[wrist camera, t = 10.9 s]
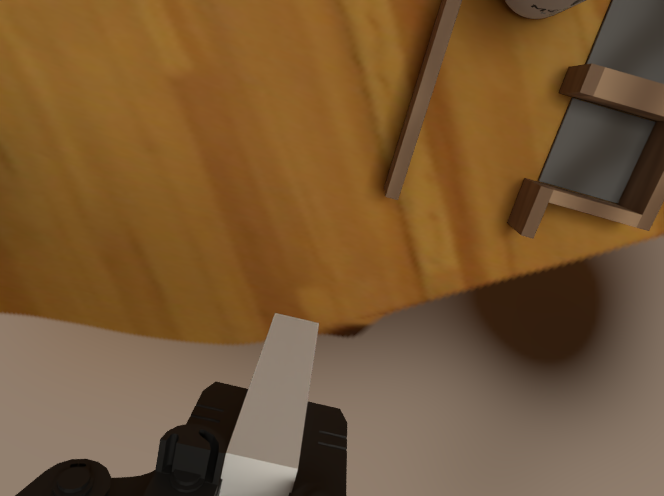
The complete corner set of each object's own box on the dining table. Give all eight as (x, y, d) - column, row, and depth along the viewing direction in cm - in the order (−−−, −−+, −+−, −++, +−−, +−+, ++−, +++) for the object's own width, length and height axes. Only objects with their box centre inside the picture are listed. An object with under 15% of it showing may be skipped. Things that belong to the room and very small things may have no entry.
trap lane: (384, 187, 41) (385, 196, 38) (484, -136, 34) (498, -166, 30) (607, 251, 42) (631, 266, 38) (753, -58, 34) (801, -77, 31)
